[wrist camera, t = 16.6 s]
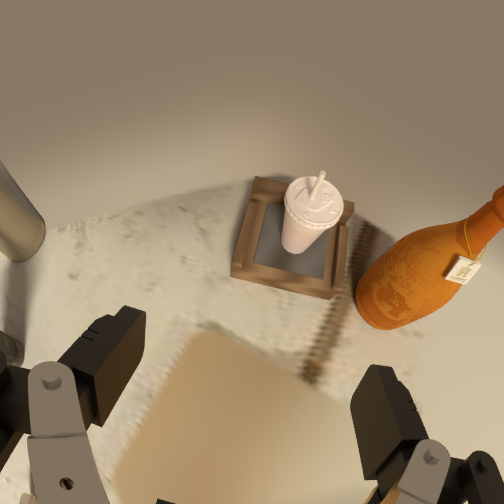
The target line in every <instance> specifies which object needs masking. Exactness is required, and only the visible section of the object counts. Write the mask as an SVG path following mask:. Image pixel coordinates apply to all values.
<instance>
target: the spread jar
mask: <svg viewBox="0 0 504 504" xmlns="http://www.w3.org/2000/svg"><path fill="white" fill-rule="evenodd" d="M20 504H38V502H37V499H36V497H35V496H34V495H31V494H26V493H23V494H22V495H21V498H20Z"/></svg>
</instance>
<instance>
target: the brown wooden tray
mask: <svg viewBox="0 0 504 504" xmlns="http://www.w3.org/2000/svg"><path fill="white" fill-rule="evenodd" d="M288 187H289V184H285V183H281V182H277V181H273V180H269V179H265V178H261V177H257V176H255V179H254V183H253V187H252V193H251V198H250V201H249V203H248V207H247V210H246V214H245V218H244V221H243V225H242V228H241V232H240V235H239V239H238V243H237V246H236V250H235V254H234V257H233V261H232V269H231V277H234V278H238V279H242V280H246V281H250V282H254V283H258V284H262V285H266V286H271V287H275V288H279V289H283V290H287V291H291V292H296V293H300V294H304V295H309V296H313V297H317V298H322V299H326V300H330V299H331V298H333V297H334V296H335V295H336V294H337V293H338V292H339V291H341V290H342V289H343V285H344V275H345V265H346V254H347V241H348V227H346V222H347V221H348V219H349V218H350V216H351V215H352V213H353V212H354V203H353V202H349V201H347V200H343V205H344V206H343V212H342V215H341V216H340V218H339V221H338V222H337V223H336V224H335V225H334V226H332V227H330V228H328V229H326V230H325V231H324V232H323V233H322V234H321V235H320V236H319V237H318V238H317V239H316V240H315V241H314V242H313V243H312V244H311V245H310V246H309V247H308V248H307V249H306V250H305V251H304V252H302V253H300V254H293V253H290V252H288V251H287V250H285V249H284V247H283V246H282V243H281V235H282V229H283V222H284V215H285V208H286V207H285V202H284V197H285V193H286V191H287V189H288Z"/></svg>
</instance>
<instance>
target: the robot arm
mask: <svg viewBox="0 0 504 504" xmlns="http://www.w3.org/2000/svg"><path fill="white" fill-rule="evenodd" d="M44 235H45V222H44V219H43V218H42V216H41V215H40V214H39V213H38V211H37V210H36V209H35V208H34V206H33V205H32V203H31V202H30V201H29V199H28V198H27V197H26V196H25V194H24V193H23V191H22V190H21V189H20V187H19V186H18V185H17V183H16V182H15V180H14V179H13V177H12V176H11V175H10V173H9V172H8V170H7V169H6V167H5V166H4V164H3V163H2V162H1V160H0V251H1V252H2V253H3V254H4V255H5V256H7V257H8V258H9V259H10V260H12V261H15V262H20V261H24V260H26V259H28V258H30V257H31V256H32V255H33V254H34V253H35V252H36V251H37V250H38V249H39V247H40V245H41V244H42V241H43V239H44ZM145 327H146V313H145V311H142V310H138V309H135V308H132V307H129V306H126V305H125V306H123V307H122V308H121V309H120V310H119V312H118V313H117V314H116V315H115V316H111V315H109V314H107V315H105V316H103V317H101V318H99V319H96V320H95V321H94V322H93V323H92V324H91V325H90V326H89V327H88V330H86V331H85V332H84V333H83V334H82V335H81V337H79V338H78V339H77V340H76V341H75V342H74V343H73V344H72V346H71V347H70V348H69V349H68V350H67V351H66V352H65V353H64V354H63V355H62V356H61V358H60V359H59V360H58V361H57V362H54V361H48V362H42V363H40V364H38V365H36V366H34V367H33V368H32V369H31V370H30V369H25V368H21V367H17V366H13V365H9V364H8V361H7V358H6V356H5V354H4V353H3V352H2V351H1V350H0V472H1V470H2V469H3V467H4V465H5V464H6V462H7V460H8V458H9V457H10V455H11V453H12V452H13V450H14V448H15V447H16V445H17V444H18V442H19V440H20V439H21V437H22V436H23V434H24V433H26V434H29V435H31V436H28V438H27V446H28V454H29V461H30V467H31V473H32V478H33V484H34V488H35V493H36V497H37V502H38V504H110V503H109V500H108V498H107V495H106V492H105V490H104V487H103V484H102V481H101V479H100V476H99V473H98V470H97V467H96V463H95V460H94V457H93V454H92V450H91V447H90V443H89V440H88V436H87V432H86V431H87V430H88V428H89V426H90V425H91V423H93V424H95V425H97V426H100V427H103V425H104V423H105V421H106V420H107V418H108V416H109V414H110V413H111V411H112V409H113V407H114V406H115V404H116V402H117V400H118V399H119V397H120V395H121V394H122V392H123V390H124V388H125V387H126V385H127V383H128V382H129V380H130V378H131V377H132V375H133V373H134V372H135V370H136V368H137V367H138V365H139V363H140V361H141V359H142V356H143V352H144V345H145ZM350 410H351V415H352V419H353V424H354V428H355V434H356V438H357V443H358V448H359V453H360V459H361V463H362V469H363V475H364V480H377V482H378V485H377V486H376V487H375V488H374V489H373V490H372V492H371V494H370V495H369V497H368V498H367V500H366V501H365V503H364V504H463V503H465V502H466V501H467V500H468V504H504V482H503V480H502V477H501V475H500V472H499V470H498V467H497V465H496V463H495V461H494V459H493V458H492V457H491V456H490V455H489V454H487V453H486V452H483V451H475V452H473V453H472V454H471V455H470V456H469V457H468V458H467V459H466V460H463V459H458V458H453V457H450V454H449V452H448V450H447V449H446V448H445V447H444V446H443V445H442V444H441V443H439V442H437V441H435V440H431V439H429V437H428V435H427V432H426V430H425V427H424V425H423V422H422V420H421V418H420V415H419V413H418V411H416V410H417V408H416V406H415V404H414V403H413V399H412V397H411V394H410V392H409V390H408V389H407V388H406V387H405V386H404V385H403V384H402V383H401V381H398V380H397V377H396V375H395V373H394V370H393V368H392V367H389V366H381V365H374V364H372V365H370V366H369V368H368V369H367V371H366V373H365V375H364V376H363V378H362V380H361V382H360V383H359V385H358V387H357V389H356V390H355V392H354V394H353V396H352V399H351V404H350ZM156 504H174V503H171V502H167V501H164V500H160V499H157V502H156Z"/></svg>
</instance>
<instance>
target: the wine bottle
mask: <svg viewBox="0 0 504 504" xmlns="http://www.w3.org/2000/svg"><path fill="white" fill-rule="evenodd" d="M503 227H504V185H503V186H502V187H500V188H499V189H497V190H496V191H495V192H494V194H493V198H492V200H491V201H490V202H487V203H486V204H485V205H484V206H483V207H482V208H480V209H479V210H478V211H477V212H475V213H474V214H473V215H470V216H469V217H468V218H466V219H464V220H461V221H459V222H454V223H450V224H444V225H437V226H432V227H427V228H424V229H421V230H418V231H415V232H413V233H411V234H409V235H407V236H405V237H403V238H402V239H400V240H399V241H398V242H396V243H395V244H394V245H393V246H392V247H391V248H389V249H388V250H387V251H386V252H385V253H384V254H383V255H382V256H381V257H380V258H379V259H378V260H377V261H376V262H375V263H374V264H373V265H372V266H371V267H370V268H369V269H368V270H367V271H366V272H365V273H364V275H363V276H362V277H361V278H360V280H359V282H358V284H357V287H356V292H355V300H356V305H357V308H358V311H359V313H360V315H361V316H362V318H363V319H364V320H365V321H366V322H367V323H368V324H369V325H371V326H373V327H375V328H377V329H381V330H391V329H395V328H398V327H401V326H403V325H406V324H409V323H411V322H413V321H416V320H418V319H420V318H422V317H425V316H427V315H429V314H431V313H433V312H434V311H436V310H438V309H439V308H441V307H442V306H444V305H445V304H446V303H447V302H448V301H449V300H450V299H451V298H452V297H453V296H454V295H455V294H456V292H457V291H458V290H459V288H460V287H461V285H462V284H467V282H468V281H469V280H470V279H471V278H472V276H473V275H474V274H475V273H476V272H477V270H478V269H479V268H480V266H481V265H480V263H479V262H477V261H479V259H480V258H481V257H482V255H483V254H484V252H485V249H486V246H487V243H488V242H489V240H491V239H492V238H493V237H494V236H495V235H496V234H497V233H498V232H499V231H500V230H501V229H502V228H503ZM485 245H486V246H485ZM484 246H485V249H484V252H483V254H482V255H481V257H480V258H479V259H478V260H477V261H475V260H476V258H477V256H478V254H479V253H480V252H481V250H482V249H483V247H484Z"/></svg>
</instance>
